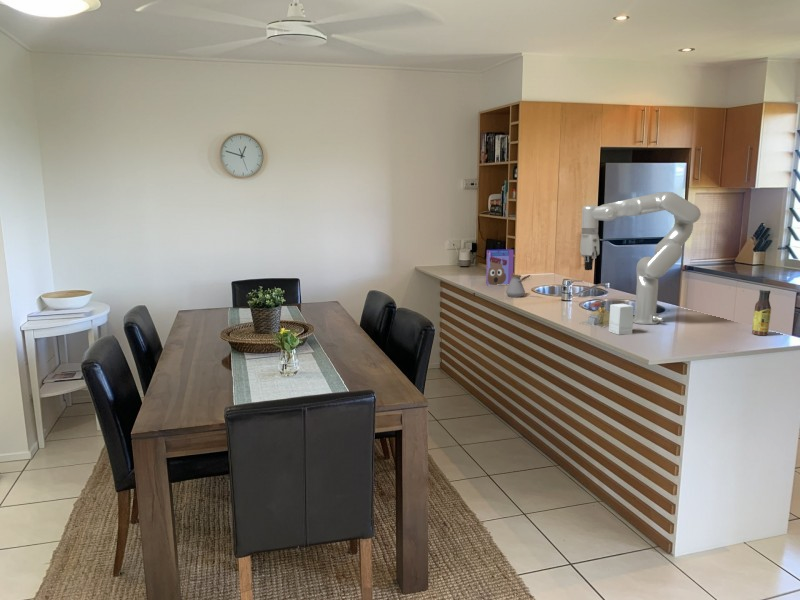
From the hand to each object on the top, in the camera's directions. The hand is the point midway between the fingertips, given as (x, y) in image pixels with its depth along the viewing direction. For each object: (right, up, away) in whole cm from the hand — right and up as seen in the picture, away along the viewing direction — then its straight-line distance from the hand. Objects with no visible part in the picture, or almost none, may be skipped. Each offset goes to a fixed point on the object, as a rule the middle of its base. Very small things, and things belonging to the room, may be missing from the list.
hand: (588, 269), depth 289 cm
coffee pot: (-19, -13, +70) cm, 73 cm away
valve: (+6, -25, +1) cm, 26 cm away
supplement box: (+8, -29, -20) cm, 36 cm away
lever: (+3, -18, -4) cm, 19 cm away
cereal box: (-23, -4, +119) cm, 122 cm away
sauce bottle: (+68, -30, -24) cm, 78 cm away
